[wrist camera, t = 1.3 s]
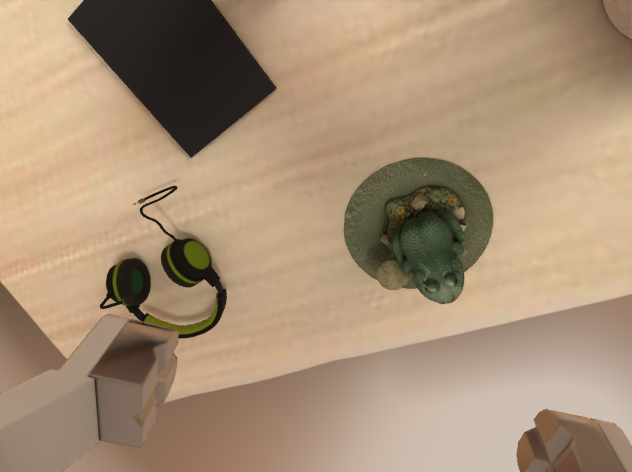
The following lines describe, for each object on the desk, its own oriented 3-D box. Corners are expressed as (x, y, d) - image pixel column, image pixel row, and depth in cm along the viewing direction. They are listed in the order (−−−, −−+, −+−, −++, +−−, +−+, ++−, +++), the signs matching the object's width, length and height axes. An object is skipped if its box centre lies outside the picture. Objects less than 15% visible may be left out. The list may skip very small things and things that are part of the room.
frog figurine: (373, 303, 58) (377, 367, 48) (321, 190, 50) (312, 236, 40) (507, 264, 53) (543, 325, 43) (471, 133, 46) (504, 169, 36)
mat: (154, -76, 39) (151, -77, 38) (276, 88, 45) (275, 89, 45) (70, 18, 43) (67, 19, 43) (192, 156, 50) (190, 157, 49)
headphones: (152, 208, 42) (244, 349, 51) (185, 175, 51) (259, 300, 59) (34, 255, 46) (136, 379, 55) (83, 217, 55) (166, 329, 63)
